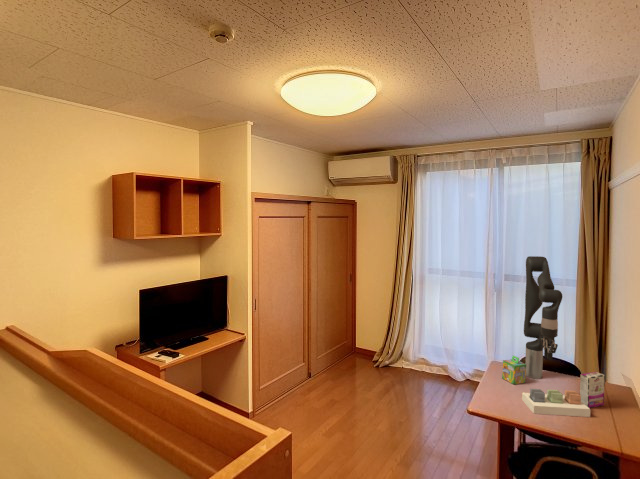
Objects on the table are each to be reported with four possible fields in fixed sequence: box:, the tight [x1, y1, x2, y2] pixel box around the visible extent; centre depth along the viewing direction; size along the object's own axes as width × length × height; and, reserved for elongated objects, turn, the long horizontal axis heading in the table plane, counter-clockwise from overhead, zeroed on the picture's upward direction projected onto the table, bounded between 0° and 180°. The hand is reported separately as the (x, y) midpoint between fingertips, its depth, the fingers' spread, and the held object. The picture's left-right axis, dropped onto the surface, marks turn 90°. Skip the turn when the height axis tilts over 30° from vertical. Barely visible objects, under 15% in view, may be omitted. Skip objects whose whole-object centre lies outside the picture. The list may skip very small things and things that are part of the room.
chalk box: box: [501, 355, 527, 385], centre depth 218 cm, size 9×9×15 cm
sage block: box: [546, 389, 564, 404], centre depth 187 cm, size 5×5×6 cm
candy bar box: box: [579, 371, 606, 409], centre depth 190 cm, size 11×5×16 cm, turn 105°
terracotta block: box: [564, 390, 581, 405], centre depth 186 cm, size 5×5×6 cm
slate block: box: [529, 388, 546, 403], centre depth 188 cm, size 5×5×6 cm
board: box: [521, 392, 591, 418], centre depth 187 cm, size 14×26×4 cm, turn 83°
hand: (548, 358), depth 194 cm, fingers open, 3 cm apart
